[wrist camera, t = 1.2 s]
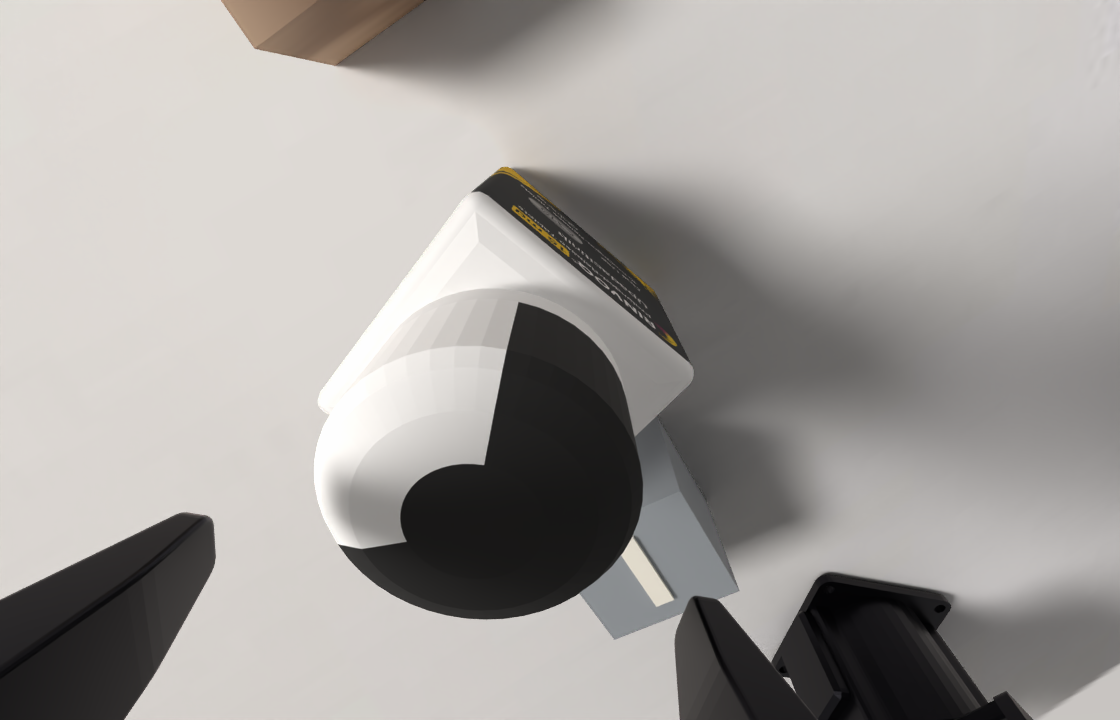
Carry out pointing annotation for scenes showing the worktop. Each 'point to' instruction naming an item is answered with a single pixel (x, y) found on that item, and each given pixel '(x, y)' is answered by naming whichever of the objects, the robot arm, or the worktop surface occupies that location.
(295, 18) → the walnut block two
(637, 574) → the slate block one
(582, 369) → the medicine bottle
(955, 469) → the worktop surface
